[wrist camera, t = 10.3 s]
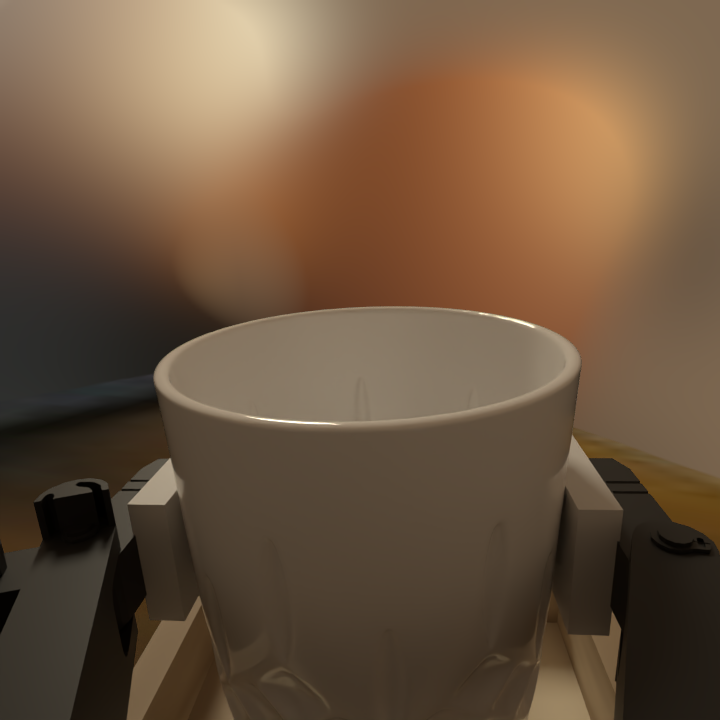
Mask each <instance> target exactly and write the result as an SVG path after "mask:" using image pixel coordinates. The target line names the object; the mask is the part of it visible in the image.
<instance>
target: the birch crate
mask: <svg viewBox="0 0 720 720" xmlns="http://www.w3.org/2000/svg"><path fill="white" fill-rule="evenodd" d="M620 633H621V628H620V626H619V624H618V622H617V620H616V618H615V616H614V613H613V611H612V616H611V624H610V633H609V636H599V635H571V634H568V633H567V631H566V628H565V625H564V622H563V619H562V617H561V614H560V611H559V608H558V605H557V603H556V600H555V597H554V594H553V592H552V593H551V600H550V606H549V612H548V617H547V622H546V627H545V632H544V636H543V646H542V657H541V663H540V669H539V674H538V679H537V684H536V689H535V693H534V697H533V701H532V704H531V708H530V711H529V716H528V720H614V709H615V695H616V681H615V675H616V667H617V658H618V650H619V642H620ZM127 720H234V718H233V716H232V713H231V711H230V708H229V705H228V702H227V700H226V697H225V694H224V691H223V688H222V685H221V682H220V678H219V674H218V670H217V666H216V661H215V657H214V652H213V647H212V641H211V636H210V633H209V630H208V627H207V624H206V620H205V616H204V612H203V609H202V604H201V600H200V596H198V598H197V600H196V601H195V603H194V605H193V607H192V609H191V611H190V613H189V615H188V616H187V618H186V620H185V621H164V620H162V621H161V623H160V625H159V626H158V628H157V630H156V632H155V633H154V635H153V637H152V638H151V640H150V642H149V643H148V645H147V647H146V649H145V650H144V652H143V654H142V655H141V657H140V659H139V660H138V662H137V664H136V666H135V667H134V669H133V674H132V682H131V690H130V698H129V705H128V713H127Z"/></svg>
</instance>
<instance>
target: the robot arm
mask: <svg viewBox="0 0 720 720" xmlns="http://www.w3.org/2000/svg"><path fill="white" fill-rule="evenodd" d="M33 503H34V507H35V510H36V514H37V518H38V522H39V526H40V530H41V534H42V538H43V540H42V543H41V545H40V547H37V548H31V549H26V550H20V551H14V552H9V553H4V551H3V548H2V544H1V541H0V720H127V713H128V705H129V698H130V690H131V682H132V674H133V666H134V658H135V650H136V642H137V634H138V629H137V624H136V619H135V614H134V613H135V612H136V610H137V609H138V607H139V606H140V604H141V603H142V601H143V600H144V598H146V603H147V608H148V613H149V619H150V620H164V621H185V620H186V618H187V616H188V615H189V613H190V611H191V609H192V607H193V605H194V603H195V601H196V600H197V598H198V596H199V592H198V588H197V583H196V579H195V574H194V569H193V564H192V559H191V555H190V550H189V545H188V540H187V536H186V531H185V526H184V521H183V516H182V512H181V507H180V502H179V497H178V492H177V487H176V482H175V478H174V473H173V468H172V463H171V459H158V460H156V461H154V462H153V463H151V464H149V465H147V466H145V467H144V468H142V469H141V470H140V471H139V472H138V473H137V474H136V475H135V476H134V477H133V478H132V479H131V482H128V483H127V484H126V485H125V486H124V487H123V488H122V491H119V492H118V493H117V494H116V495H115V496H114V497H113V498H112V499H111V497H110V492H109V487H108V483H106V482H105V481H103V480H100V479H93V478H89V479H78V480H74V481H70V482H66V483H63V484H60V485H58V486H55V487H53V488H51V489H49V490H47V491H46V492H44V493H43V494H41V495H40V496H39V497H38V498H37V499H36V500H35V501H34V502H33ZM552 592H553V594H554V597H555V600H556V603H557V605H558V608H559V611H560V614H561V617H562V619H563V622H564V625H565V628H566V631H567V633H568V634H571V635H599V636H609V633H610V624H611V616H612V611H613V613H614V616H615V618H616V620H617V622H618V624H619V626H620V628H621V633H620V642H619V650H618V658H617V667H616V675H615V681H616V695H615V709H614V720H720V555H719V551H718V549H717V547H716V545H715V544H714V542H713V541H711V540H710V539H709V538H708V537H707V536H705V535H704V534H703V533H701V532H699V531H697V530H695V529H693V528H691V527H688V526H685V525H681V524H678V523H675V522H672V521H671V519H670V518H669V517H668V516H667V514H666V513H665V512H664V511H663V510H662V508H661V507H660V506H659V505H658V503H657V502H656V501H655V500H654V498H653V497H652V496H651V495H650V494H648V491H647V490H646V488H645V487H644V486H643V485H642V484H640V481H639V480H638V479H637V477H636V476H635V475H634V474H633V472H632V471H631V470H630V469H629V468H627V467H626V466H624V465H622V464H621V463H619V462H617V461H616V460H614V459H612V458H588V457H587V456H586V454H585V453H584V452H583V450H582V449H581V447H580V446H579V444H578V443H577V441H576V440H575V438H574V437H573V435H572V439H571V446H570V454H569V461H568V469H567V476H566V484H565V492H564V500H563V508H562V515H561V523H560V531H559V539H558V547H557V555H556V563H555V571H554V578H553V586H552Z"/></svg>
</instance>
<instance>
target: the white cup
mask: <svg viewBox="0 0 720 720" xmlns="http://www.w3.org/2000/svg"><path fill="white" fill-rule="evenodd" d="M581 364H582V361H581V356H580V354H579V352H578V350H577V349H576V347H575V346H574V345H573V344H572V343H571V342H569V341H568V340H567V339H566V338H564V337H563V336H561V335H559V334H557V333H555V332H553V331H551V330H549V329H547V328H544V327H542V326H539V325H536V324H533V323H530V322H526V321H522V320H519V319H515V318H510V317H505V316H501V315H495V314H489V313H483V312H475V311H468V310H458V309H447V308H431V307H359V308H358V307H357V308H343V309H342V308H340V309H329V310H319V311H309V312H301V313H294V314H287V315H281V316H275V317H269V318H264V319H259V320H254V321H250V322H245V323H241V324H238V325H234V326H230V327H226V328H223V329H220V330H217V331H214V332H211V333H208V334H205V335H203V336H200V337H198V338H195V339H193V340H191V341H189V342H187V343H185V344H183V345H181V346H179V347H178V348H176V349H174V350H173V351H171V352H170V353H169V354H168V355H166V356H165V357H164V358H163V359H162V360H161V361H160V363H159V364H158V365H157V367H156V369H155V372H154V385H155V389H156V394H157V399H158V403H159V408H160V412H161V417H162V421H163V426H164V431H165V435H166V440H167V445H168V449H169V454H170V459H171V463H172V468H173V473H174V478H175V482H176V487H177V492H178V497H179V502H180V507H181V512H182V516H183V521H184V526H185V531H186V536H187V540H188V545H189V550H190V555H191V559H192V564H193V569H194V574H195V579H196V583H197V588H198V592H199V596H200V600H201V604H202V609H203V612H204V616H205V620H206V624H207V627H208V630H209V633H210V636H211V641H212V647H213V652H214V657H215V661H216V666H217V670H218V674H219V678H220V682H221V685H222V688H223V691H224V694H225V697H226V700H227V702H228V705H229V708H230V711H231V713H232V716H233V718H234V720H528V716H529V711H530V708H531V704H532V701H533V697H534V693H535V689H536V684H537V679H538V674H539V669H540V663H541V657H542V646H543V636H544V632H545V627H546V622H547V617H548V612H549V606H550V600H551V593H552V586H553V578H554V571H555V563H556V555H557V547H558V539H559V531H560V523H561V515H562V508H563V500H564V492H565V484H566V476H567V469H568V461H569V454H570V446H571V439H572V431H573V423H574V416H575V409H576V401H577V394H578V387H579V379H580V372H581Z"/></svg>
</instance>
